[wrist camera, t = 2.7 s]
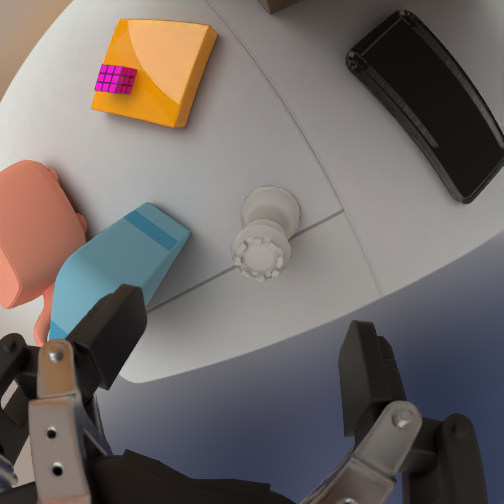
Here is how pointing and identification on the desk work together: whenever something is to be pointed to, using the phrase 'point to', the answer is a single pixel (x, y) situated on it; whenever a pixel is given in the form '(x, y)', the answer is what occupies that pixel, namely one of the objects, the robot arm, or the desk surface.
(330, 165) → the desk surface
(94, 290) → the data package
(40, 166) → the teapot
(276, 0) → the wooden panel
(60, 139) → the desk surface
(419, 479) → the robot arm
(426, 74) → the phone
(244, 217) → the rook chess piece
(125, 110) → the orange square tile
